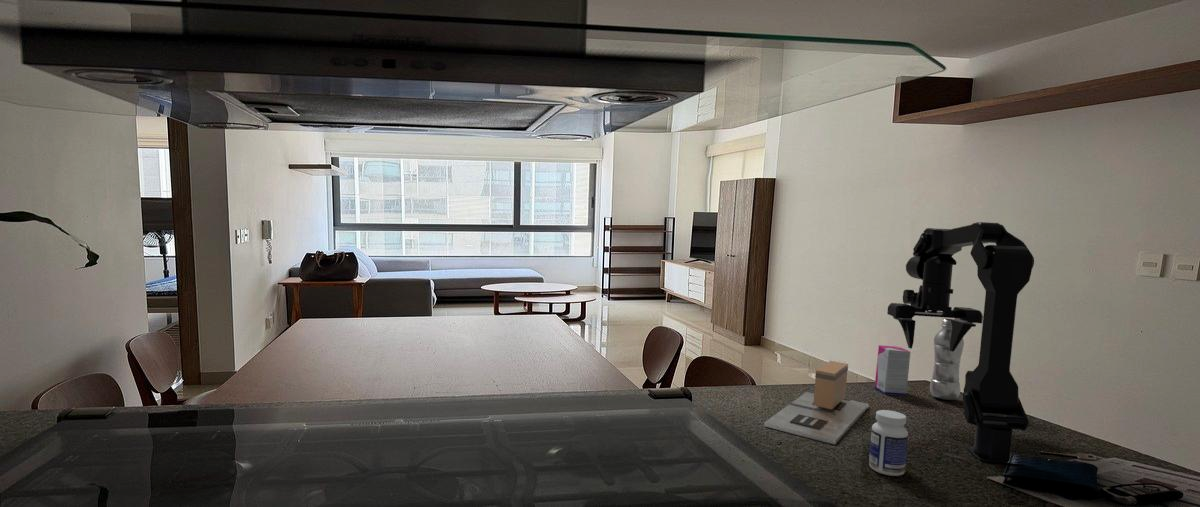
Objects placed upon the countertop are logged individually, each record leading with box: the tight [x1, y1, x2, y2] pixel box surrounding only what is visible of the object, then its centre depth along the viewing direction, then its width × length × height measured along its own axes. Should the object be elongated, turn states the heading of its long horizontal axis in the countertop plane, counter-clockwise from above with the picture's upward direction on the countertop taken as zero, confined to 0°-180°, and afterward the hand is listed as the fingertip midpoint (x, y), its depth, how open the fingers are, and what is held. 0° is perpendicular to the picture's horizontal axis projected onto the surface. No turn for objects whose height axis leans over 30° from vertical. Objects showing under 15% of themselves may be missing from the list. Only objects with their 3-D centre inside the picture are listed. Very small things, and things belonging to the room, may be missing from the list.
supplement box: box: [874, 344, 911, 396], centre depth 150 cm, size 6×6×12 cm
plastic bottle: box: [929, 318, 965, 401], centre depth 145 cm, size 6×7×20 cm
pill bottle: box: [868, 409, 909, 477], centre depth 101 cm, size 6×6×10 cm
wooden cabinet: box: [813, 360, 849, 409], centre depth 134 cm, size 4×12×8 cm, turn 144°
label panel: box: [763, 389, 870, 446], centre depth 128 cm, size 14×30×1 cm, turn 144°
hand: (930, 349), depth 135 cm, fingers open, 9 cm apart
